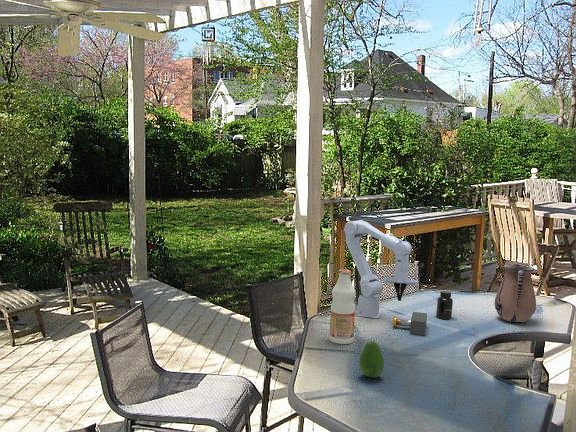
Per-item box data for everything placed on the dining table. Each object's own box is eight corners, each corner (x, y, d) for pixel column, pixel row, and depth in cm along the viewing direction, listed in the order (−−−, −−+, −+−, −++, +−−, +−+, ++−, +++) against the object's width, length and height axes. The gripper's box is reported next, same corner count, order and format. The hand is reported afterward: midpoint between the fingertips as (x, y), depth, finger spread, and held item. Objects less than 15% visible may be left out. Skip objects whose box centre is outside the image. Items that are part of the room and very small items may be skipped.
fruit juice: (324, 339, 234) (327, 269, 231) (343, 335, 239) (346, 267, 236) (339, 346, 227) (343, 273, 223) (358, 342, 232) (362, 271, 228)
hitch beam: (409, 334, 245) (410, 320, 244) (412, 324, 258) (413, 311, 257) (424, 336, 243) (425, 322, 242) (426, 326, 256) (427, 313, 256)
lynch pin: (392, 327, 251) (393, 318, 251) (393, 324, 255) (394, 315, 255) (422, 331, 248) (423, 321, 248) (423, 328, 252) (424, 319, 251)
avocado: (367, 370, 203) (369, 336, 201) (387, 377, 198) (389, 342, 196) (354, 377, 197) (356, 341, 195) (374, 383, 192) (376, 347, 190)
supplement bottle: (448, 320, 266) (449, 294, 265) (433, 317, 270) (435, 291, 269) (453, 317, 272) (455, 292, 270) (439, 314, 276) (441, 289, 274)
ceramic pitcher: (527, 316, 279) (532, 263, 276) (542, 329, 258) (547, 273, 255) (489, 313, 281) (493, 261, 278) (500, 327, 260) (505, 270, 257)
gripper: (383, 269, 256) (381, 300, 258) (418, 272, 252) (416, 304, 254) (385, 266, 263) (383, 296, 264) (418, 269, 259) (416, 300, 261)
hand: (399, 300), depth 260 cm, fingers closed
